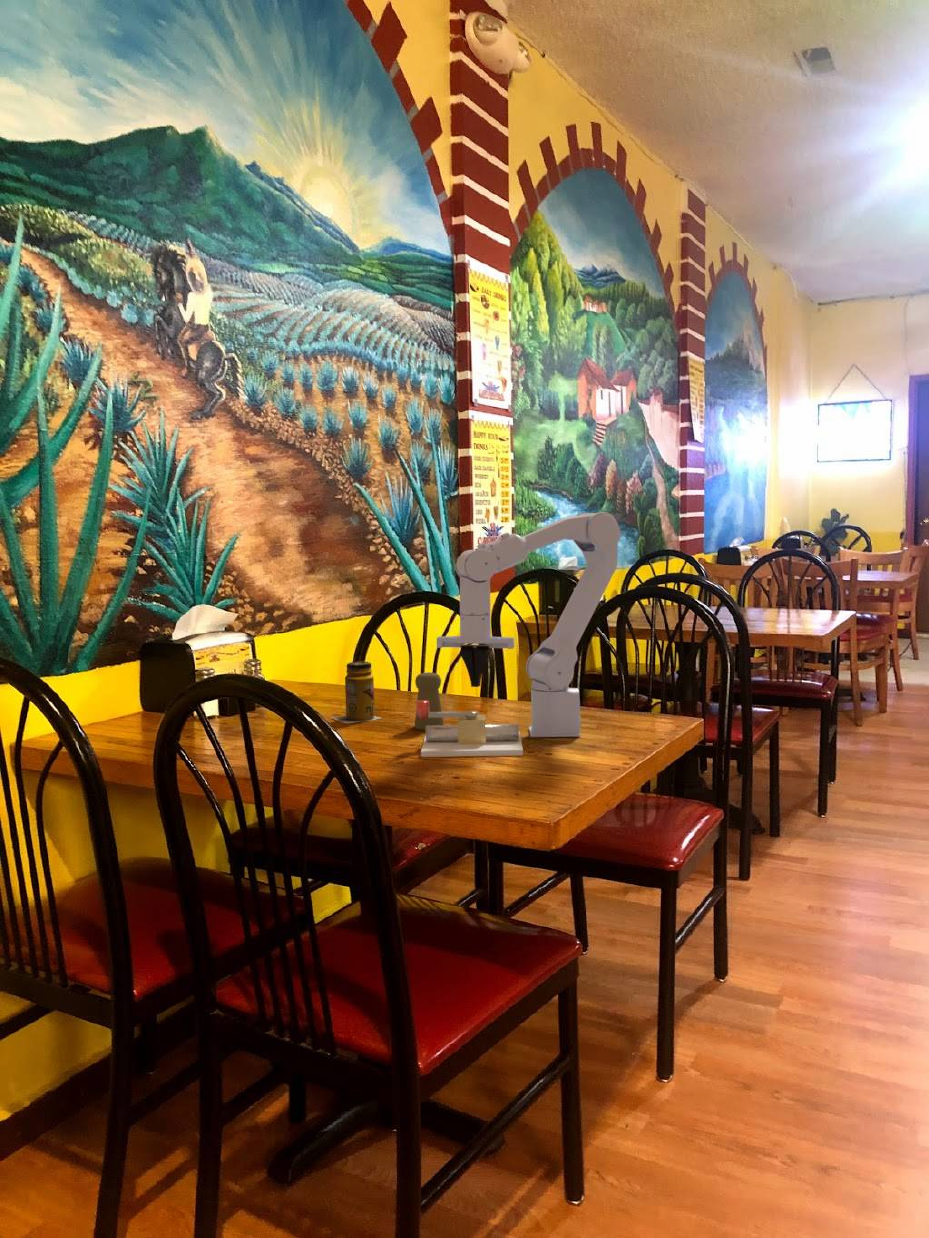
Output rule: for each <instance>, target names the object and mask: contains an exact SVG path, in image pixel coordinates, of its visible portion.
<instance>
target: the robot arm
mask: <svg viewBox="0 0 929 1238" xmlns="http://www.w3.org/2000/svg"><path fill="white" fill-rule="evenodd" d="M621 536H622V530H621V528H620V526H619V523H618V521H617V519H616V518H615V517H614V515H613V514H611V513H609V512H605V511H604V512H603V511H600V512H596V513H595V512H594V513H593V512H592V513H588V512H581V513H577V514H576V515H570V516H566V517H563V518H560V519H558V520H556V521H554V522H551V523H549V524H547V525H545V526H543V527H541V528H539V529H536V530H535V531H532V532H530V533H527V534H526V535H523V536H520V535H518V534H517V533H511V534H510V533H509V532H505V533H501V534H500V538H498V539H495V540H493V541H491V542H489V543H484V542H481V543H480V544H478V545H477V546H478V549H468V550H465V551H462V552H461V554H460V556H458V557H457V560H456V564H454V570H455V573H456V574H457V575H458V577H459V635H453V636H451V635H450V636H449V635H448V636H445V635H444V636H440V635H439V636H438V637H436V648H437V649H438V648H439V649H441V648H460V650H459V655H460V657H461V659H462V661H463V662H464V665H465V667H466V670H467V673H468V676H469V679H470V680H469V681H470V687H471V688H479V687H480V686H481V680H482V676H483V672H484V669H485V667H486V666H485V665H486V663H487V660H488V658H489V656H490V654H491V651H492V649H508V650H513V649H515V637H509V636H507V637H506V636H491V632H492V631H491V627H492V626H491V578H493V575H494V574H497V573H500V572H502V571H505V570H508V569H510V568H512V567H514V566H517V565H520V564H522V563H525V561H526V560H527V558H528V555H529V554H530V553H531V552H534V551H536V550H538V549H542V548H543V547H547V546H550V545H554V544H556V543H558V542H561V541H563V540H566V541H567V540H568V541H573V543H574V544H575V545H576V546H577V547H578V548H579V550H580V552H581V553H582V555H583V557H584V560H585V562H586V566H585V569H584V571H583V573H582V574H581V577H579V581H578V582H577V584H576V586H575V588H574V590H573V591H572V593H571V596H570V597H569V599H568V601H567V603H566V605H565V607H564V609H563V611H562V613H561V615H560V617H559V619H558V621H557V624H556V625H555V627H554V628H553V630H552V633H551V635H550V636H549V637H547V638H546V639H545V640H543V641H542V642H541V643H540V645H539V647H538V648H537V650H536V651H534V652H533V653H532V654H531V655H530V656H529V657H528V659H527V661H526V665H525V670H526V674H527V676H528V677H529V679H531V685H530V693H531V695H530V696H531V697H530V700H531V703H530V704H531V705H530V707H531V709H530V710H531V725H530V726H528V732H529V735H530V738H561V737H562V738H567V737H570V738H573V737H581V725H582V718H581V701H580V690H579V688H577V687H569V685H570V684H571V683H572V681H573V678H574V675H575V666H576V663H577V662H578V652H577V646H578V644H579V642H580V640H581V638H582V636H583V635H584V632H585V631H586V628H587V626H588V625H589V623H590V621H591V619H592V617H593V614H594V613H595V612H596V609H597V607H598V605H599V604H600V602H601V599H602V597H603V596H604V594H605V591H606V590H607V588H608V585H609V584H610V581H611V580H612V578H613V576H614V574H615V571H616V570H617V567H618V555H619V553H618V552H619V540H620V538H621Z"/></svg>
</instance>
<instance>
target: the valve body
mask: <svg viewBox="0 0 929 1238" xmlns="http://www.w3.org/2000/svg"><path fill="white" fill-rule="evenodd" d="M486 719H487V718H486V714H478V717H476V718H467V717H457V724H448V725H446V724H444V725H431V726H426V730H425V735H426V742H457V741H458V744H486V741H519V732H520V731H519V724H518V723H516V724H515V723H511V724H506V723H504V724H486V723H487V721H486Z"/></svg>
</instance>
